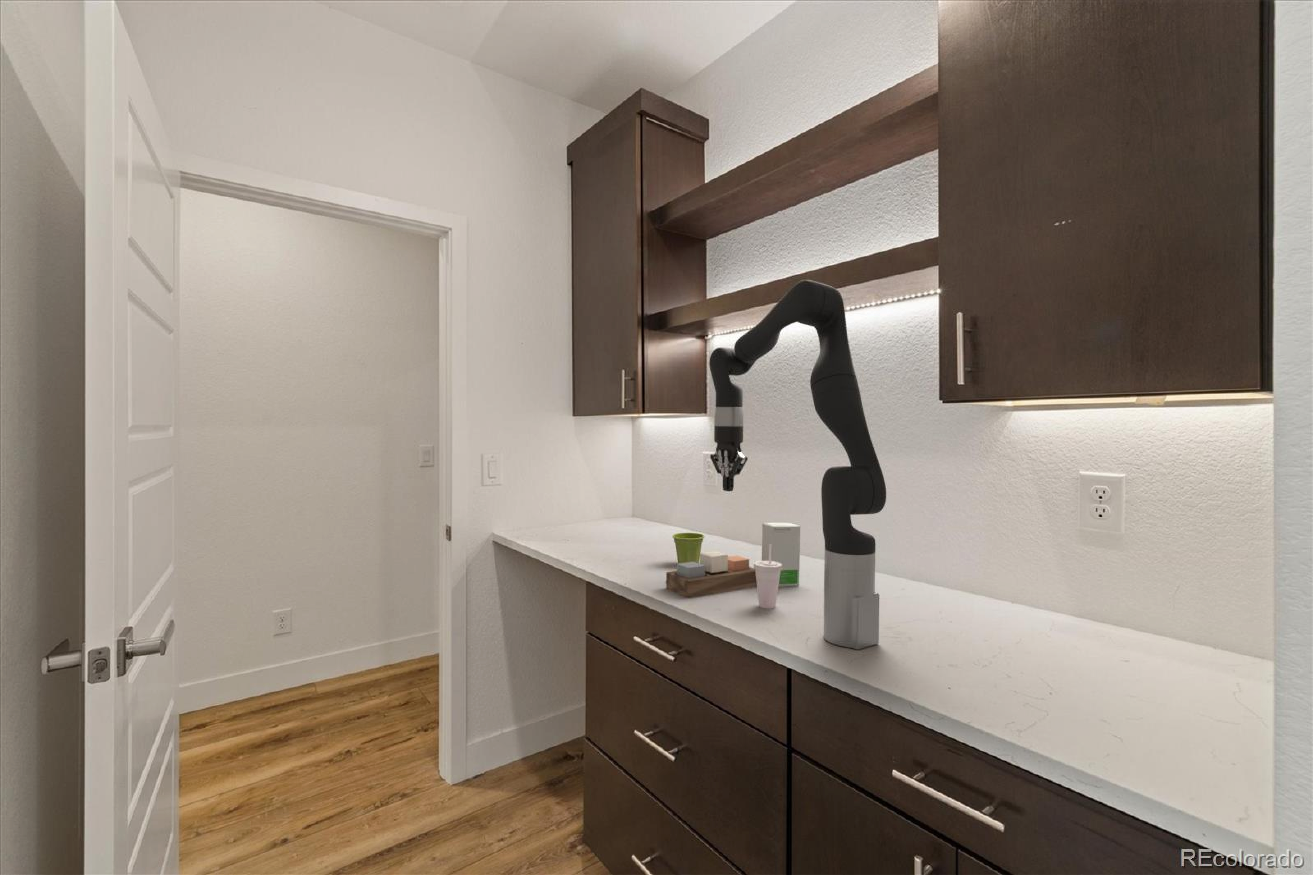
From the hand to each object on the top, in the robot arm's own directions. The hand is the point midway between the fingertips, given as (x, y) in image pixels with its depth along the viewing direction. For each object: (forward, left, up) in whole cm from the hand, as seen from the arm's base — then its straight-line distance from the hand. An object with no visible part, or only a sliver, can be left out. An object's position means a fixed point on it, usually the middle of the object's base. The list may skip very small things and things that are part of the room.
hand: (727, 490), depth 155 cm
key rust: (-3, -1, -22) cm, 22 cm away
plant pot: (+20, -2, -24) cm, 32 cm away
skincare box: (-9, -11, -24) cm, 28 cm away
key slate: (-3, +13, -22) cm, 26 cm away
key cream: (-3, +6, -20) cm, 21 cm away
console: (-3, +6, -24) cm, 25 cm away
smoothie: (-22, +5, -24) cm, 33 cm away
